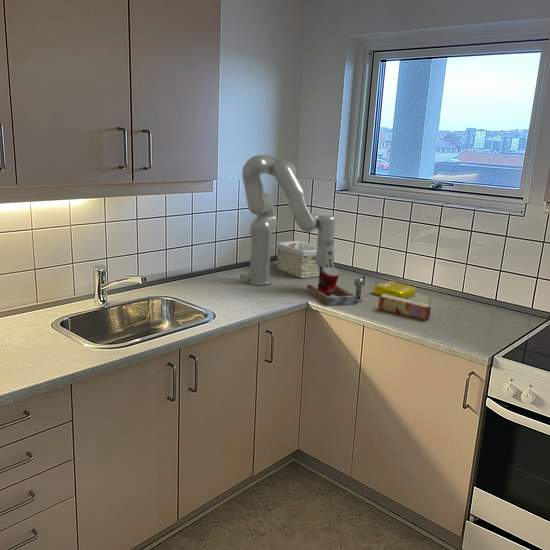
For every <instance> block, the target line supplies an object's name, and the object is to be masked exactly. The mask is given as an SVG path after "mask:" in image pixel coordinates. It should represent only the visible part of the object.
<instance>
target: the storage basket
mask: <svg viewBox="0 0 550 550" xmlns="http://www.w3.org/2000/svg"><path fill="white" fill-rule="evenodd" d="M276 249H277V270H279V271H281V272H284V273H286V274H290V275H292V276H294V277H297V278H300V279H308V278H315V277H316V278H317V277H318V278H319V273H320V272H319V267H318V266H317V264H316V251H317V245H315V244H311V243H308V242H306V241H302V240H297V241H296V240H295V241H293V240H292V241H282V242H278V243H277V246H276Z"/></svg>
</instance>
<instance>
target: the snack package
mask: <svg viewBox="0 0 550 550" xmlns="http://www.w3.org/2000/svg"><path fill="white" fill-rule="evenodd" d="M378 310H380V311H385V312H389V313H393V314H397V315H402V316H406V317H410V318H414V319H418V320H422V321H427V320H428V319H429V318H430V316H431V310H432V308H431V305H430V304H429V303H425V302H419V301H415V300H412V299H403V298H398V297H394V296H390V295H387V294H383V295H381V296H379V298H378Z"/></svg>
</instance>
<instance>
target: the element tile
mask: <svg viewBox="0 0 550 550" xmlns="http://www.w3.org/2000/svg"><path fill="white" fill-rule="evenodd" d="M373 288H374V290H373V294H374V295H376V296H378V295H379V297H380V296H381V295H383V294H387V295H390V296H394V297H398V298H403V299H408V298H409V299H411V298H414V297H416V289H417V288H416V287H415V286H412V285H409V284H405V283H400V282H396V281H391V280H389V281H388V280H387V281H386V282H382V283H378V284H376V285H374V287H373ZM413 296H414V297H413ZM410 297H411V298H410ZM409 299H408V300H409Z"/></svg>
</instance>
